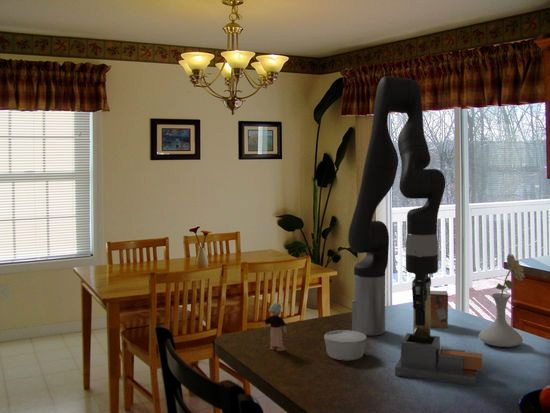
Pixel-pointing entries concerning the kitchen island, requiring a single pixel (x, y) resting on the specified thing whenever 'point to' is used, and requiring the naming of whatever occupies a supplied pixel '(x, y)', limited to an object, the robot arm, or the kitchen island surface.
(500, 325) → the flower in vase
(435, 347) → the dock
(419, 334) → the brass peg
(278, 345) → the grandmother figurine
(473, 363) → the lock pin
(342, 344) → the ramekin
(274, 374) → the kitchen island surface
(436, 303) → the small box
